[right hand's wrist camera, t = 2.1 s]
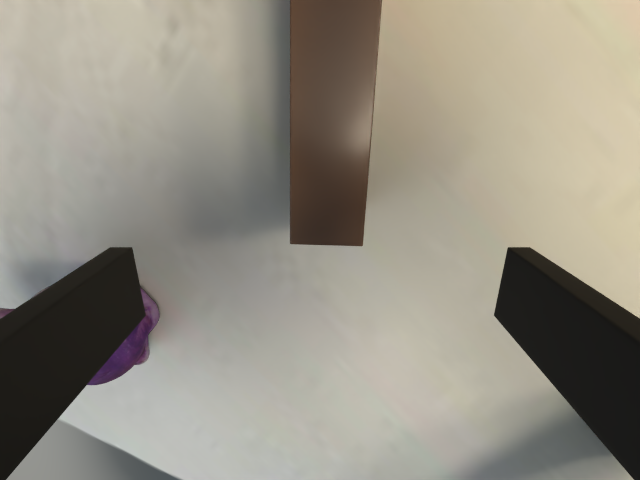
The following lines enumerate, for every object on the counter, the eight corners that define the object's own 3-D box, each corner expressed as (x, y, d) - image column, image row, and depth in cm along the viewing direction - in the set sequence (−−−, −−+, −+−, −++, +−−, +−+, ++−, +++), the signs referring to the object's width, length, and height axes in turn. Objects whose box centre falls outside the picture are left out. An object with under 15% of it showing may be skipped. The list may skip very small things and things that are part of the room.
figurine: (57, 249, 32) (-147, 355, 18) (167, 275, 33) (53, 395, 19) (57, 332, 35) (-117, 477, 21) (157, 353, 36) (53, 506, 22)
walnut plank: (381, -219, 22) (413, -396, 14) (352, 214, 31) (362, 246, 24) (300, -222, 21) (289, -402, 14) (297, 212, 31) (290, 244, 24)
